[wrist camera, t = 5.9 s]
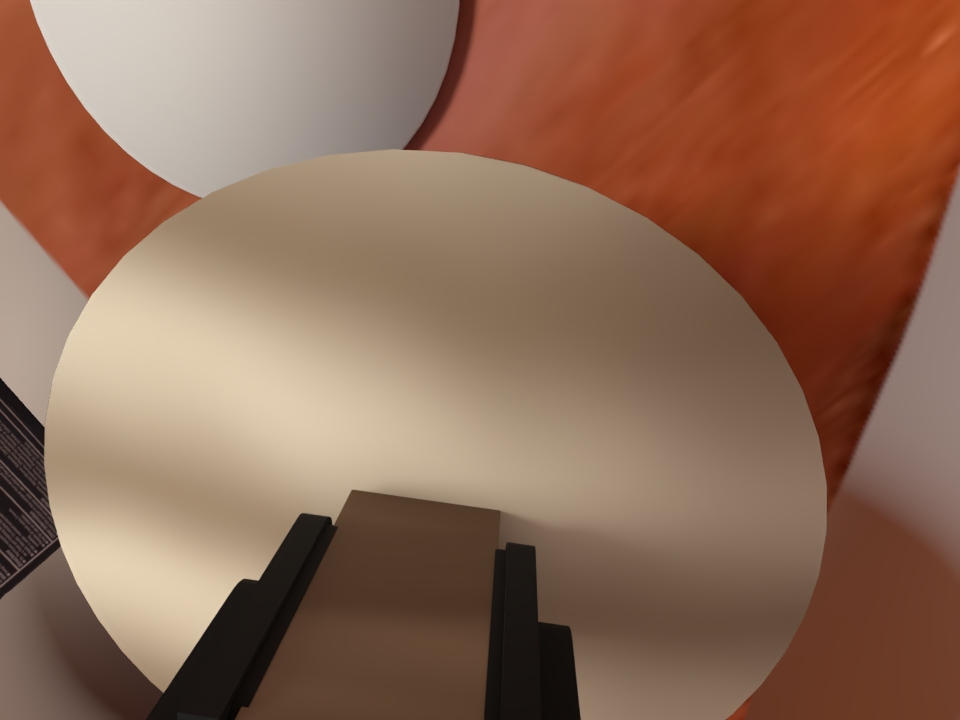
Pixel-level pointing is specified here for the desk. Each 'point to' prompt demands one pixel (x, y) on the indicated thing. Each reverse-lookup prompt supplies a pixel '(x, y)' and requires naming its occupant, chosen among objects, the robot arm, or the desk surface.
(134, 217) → the desk surface
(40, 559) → the small box
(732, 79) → the desk surface
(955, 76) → the desk surface
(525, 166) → the lid
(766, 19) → the desk surface
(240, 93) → the mat
